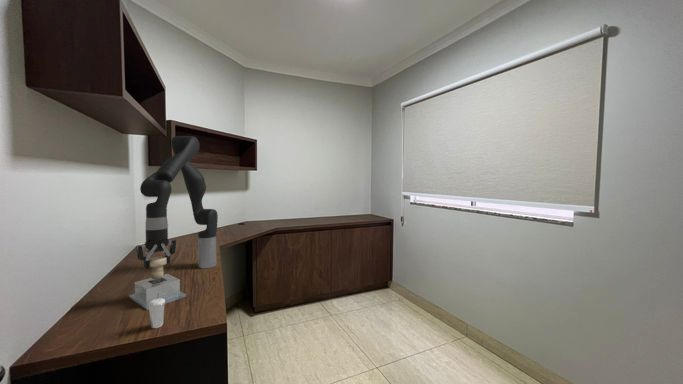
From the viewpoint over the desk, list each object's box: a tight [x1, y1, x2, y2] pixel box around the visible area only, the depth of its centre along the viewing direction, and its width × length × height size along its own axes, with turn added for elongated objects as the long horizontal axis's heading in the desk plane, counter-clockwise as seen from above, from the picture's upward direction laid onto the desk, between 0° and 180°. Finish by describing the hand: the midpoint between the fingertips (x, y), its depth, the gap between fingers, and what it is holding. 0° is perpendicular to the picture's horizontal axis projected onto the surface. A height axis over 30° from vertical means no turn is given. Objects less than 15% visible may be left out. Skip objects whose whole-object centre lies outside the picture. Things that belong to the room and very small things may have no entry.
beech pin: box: [149, 255, 167, 279], centre depth 107 cm, size 6×6×8 cm
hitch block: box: [128, 273, 187, 311], centre depth 107 cm, size 18×14×7 cm
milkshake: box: [148, 293, 166, 329], centre depth 86 cm, size 5×5×10 cm
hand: (157, 266), depth 107 cm, fingers closed on beech pin, 6 cm apart
